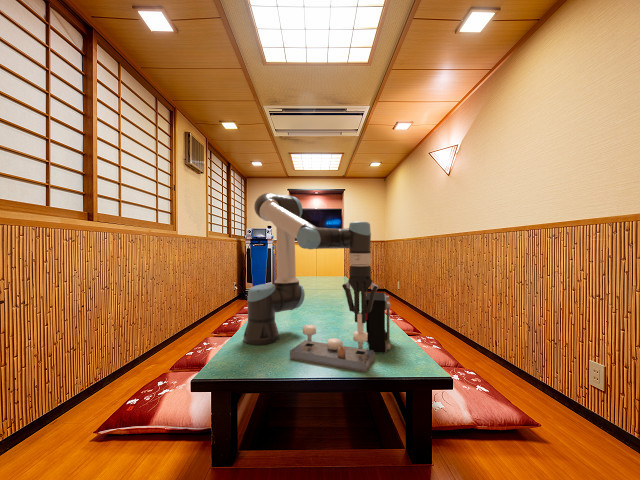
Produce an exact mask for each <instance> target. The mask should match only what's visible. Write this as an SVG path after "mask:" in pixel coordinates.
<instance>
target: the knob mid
mask: <svg viewBox="0 0 640 480" xmlns="http://www.w3.org/2000/svg"><path fill="white" fill-rule="evenodd" d="M326 341H327V342H326V343H327V348H328V349H331V350H337V349H338V347H340V342H341V339H339V338H338V337H337V338H336V337H334V338H333V337H331V338H328V339H326Z"/></svg>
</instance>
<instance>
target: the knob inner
mask: <svg viewBox="0 0 640 480" xmlns="http://www.w3.org/2000/svg"><path fill="white" fill-rule="evenodd" d="M302 334H303V335H305V336H306V337H307V338H306V339H307V340H306V341H308V342H311V341H312V336H314V335H316V334H317V326H316V325H314V324H304V325H303V326H302Z"/></svg>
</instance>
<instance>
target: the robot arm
mask: <svg viewBox="0 0 640 480" xmlns="http://www.w3.org/2000/svg"><path fill="white" fill-rule="evenodd" d="M253 208H254V212H255V214H256V216H258V217H259V218H260V219H262V220H263V221H265V222H271V223H272V224H273V226H275V228H276V231H275V232H276V265H277V266H276V268H277V273H276V274H277V277H276V279H275V281H274V282H273V283H274V284H273V283H262V284H258V285H253V286H252V287H250V288H249V289H248V292H247V300H246V301H247V324H246V325H245V327H246V328H245V330H244V333H243V342H244V343H245V344H248V345H254V346H259V345H268V344H269V345H270V344H273V343H275V342H277V341H279V340H280V332H279V330H278V326H277V322H276V313H281V312H285V311H286V312H287V311H292V310H295V309H298V308H300V307H301V306H302V305H303V303H304V302H305V301H304V300H305V295H306V294H305V290H304V287H303V285H301V284H300V280H299V279H298V278H297V275H296V271H297V269H296V243H297V244H298V246H299V247H300V248H301V249H304V250H305V249H307V250H321V249H322V250H323V249H326V250H329V249H337V250H338V249H349V264H350V266H349V277H348V280H347V281H348V282H346V283H344V284H342V286H341V287H342V288H343V289H344V292H345V297H346V300H347V305H348V309H349V312H352V313H354V322H355V323H357V325H356V327H357V330H356V331H358V333H362V332H363V331H364V330H365V329H364V328H365V327H364V324H366V313H369V312H370V311H371V310H372V306H373V302H374V297H375V293H377V290H378V289H379V288H380V287H379V285H377V284H375V283H374V282H373V279H372V272H371V271H372V266H370V265H371V264H372V255H371V254H372V253H371V241H372V240H371V239H372V236H371V235H372V233H371V224H370V222H368V221H352V222H349V223H348V224H349V227H348V228H335V227H333V228H330V227H329V228H328V227H327V228H326V227H318V226H315V225H314V224H312V223H311V222H309V221H307V220H306V219H303V218H302V215H303V206H302V202H301V201H300V199H298V198H297V197H296V196H292V195H289V194H288V195H286V194H278V193H272V192H265V193H263V194H260V196H258V197H257V198H256V200H255V201H254V206H253ZM351 288H352V290H353V294H352V290H351ZM369 288H370V292H371V294H370V298H369V302H368V307H367V308H366V296H367V292H368V290H369ZM353 297H354V300H353ZM360 297H361V301H360ZM360 302H361V305H360ZM360 307H361V308H360ZM360 309H361V310H360ZM360 311H361V312H360Z"/></svg>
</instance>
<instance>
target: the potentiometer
mask: <svg viewBox="0 0 640 480" xmlns="http://www.w3.org/2000/svg"><path fill="white" fill-rule="evenodd" d="M343 346H344V341H341V342H340V347H338V357H339V358H345V347H343Z"/></svg>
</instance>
